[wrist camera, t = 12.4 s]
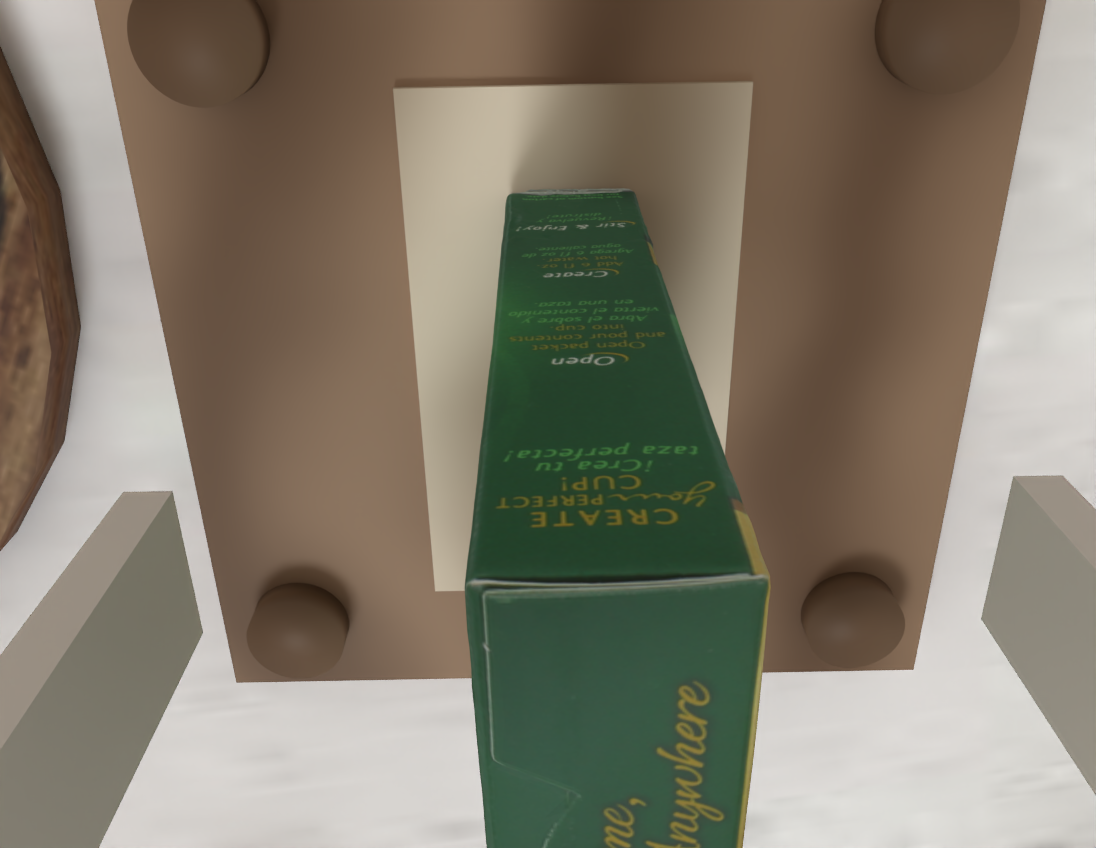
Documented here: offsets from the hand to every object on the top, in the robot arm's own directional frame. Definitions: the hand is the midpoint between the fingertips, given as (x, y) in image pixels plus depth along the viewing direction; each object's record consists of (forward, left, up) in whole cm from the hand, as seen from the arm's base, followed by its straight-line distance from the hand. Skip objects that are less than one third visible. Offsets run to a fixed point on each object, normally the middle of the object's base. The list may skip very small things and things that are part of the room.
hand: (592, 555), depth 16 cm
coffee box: (0, 0, -7) cm, 7 cm away
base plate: (0, 0, -9) cm, 9 cm away
